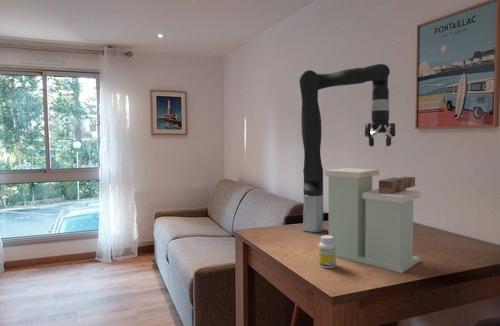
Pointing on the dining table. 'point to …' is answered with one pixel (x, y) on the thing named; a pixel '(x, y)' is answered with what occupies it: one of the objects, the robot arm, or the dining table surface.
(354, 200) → the step stand
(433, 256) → the dining table surface
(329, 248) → the supplement bottle
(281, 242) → the dining table surface
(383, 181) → the walnut leg
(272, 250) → the dining table surface
